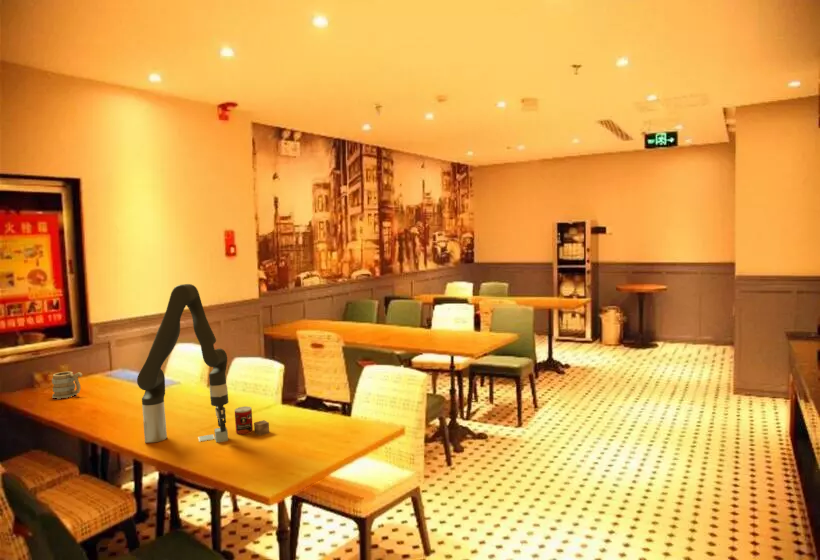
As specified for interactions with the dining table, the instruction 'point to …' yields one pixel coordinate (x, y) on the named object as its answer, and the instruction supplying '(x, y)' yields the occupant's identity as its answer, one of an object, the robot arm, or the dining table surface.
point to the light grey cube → (221, 435)
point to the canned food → (243, 420)
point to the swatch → (206, 438)
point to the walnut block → (261, 427)
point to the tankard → (65, 384)
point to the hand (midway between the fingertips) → (222, 428)
